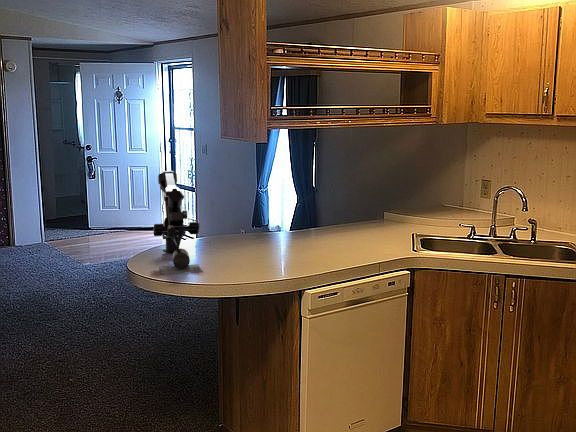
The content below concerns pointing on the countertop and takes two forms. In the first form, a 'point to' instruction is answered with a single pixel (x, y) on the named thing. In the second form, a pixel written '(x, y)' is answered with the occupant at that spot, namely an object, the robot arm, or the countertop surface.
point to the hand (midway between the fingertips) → (178, 246)
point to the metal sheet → (175, 270)
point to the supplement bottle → (181, 258)
